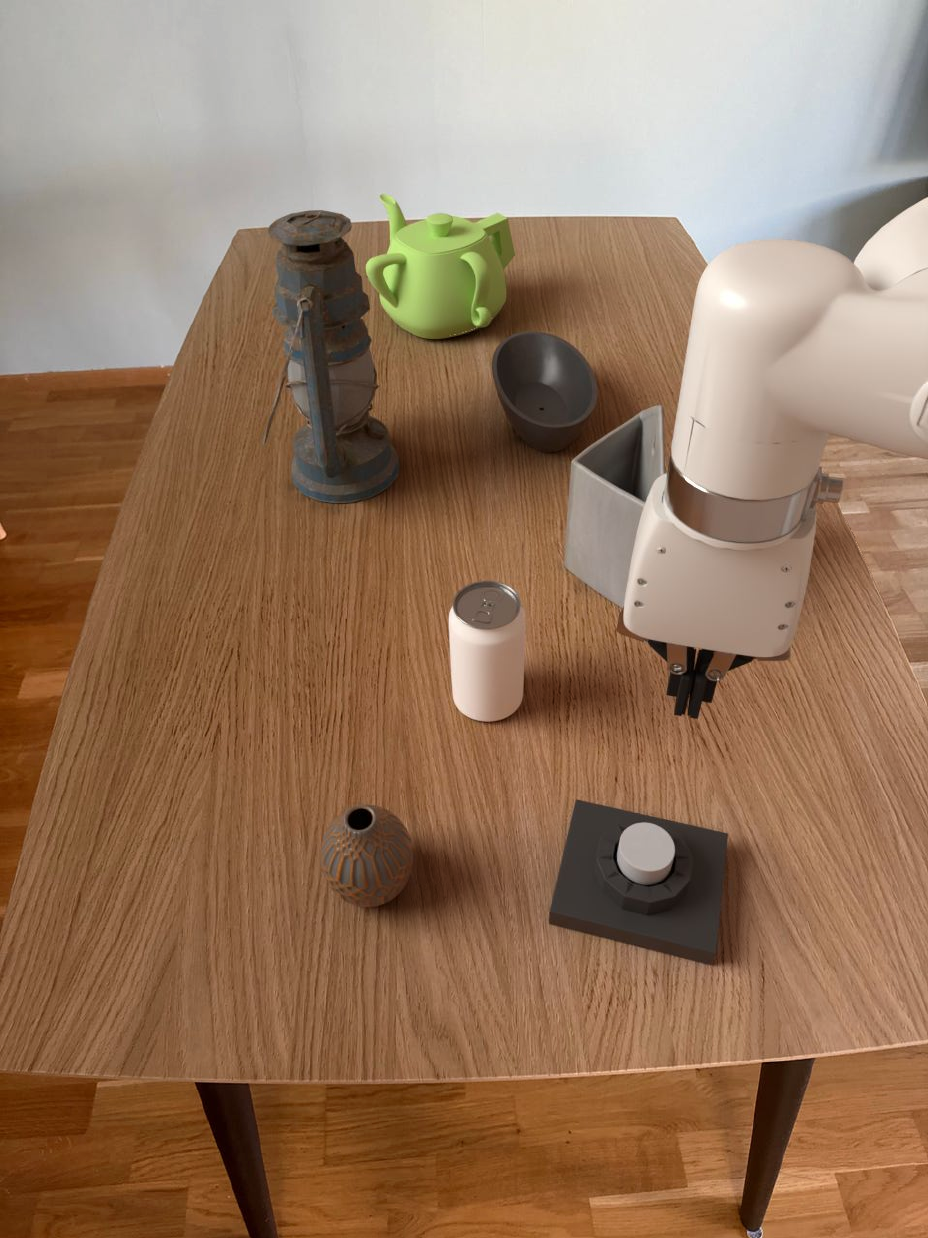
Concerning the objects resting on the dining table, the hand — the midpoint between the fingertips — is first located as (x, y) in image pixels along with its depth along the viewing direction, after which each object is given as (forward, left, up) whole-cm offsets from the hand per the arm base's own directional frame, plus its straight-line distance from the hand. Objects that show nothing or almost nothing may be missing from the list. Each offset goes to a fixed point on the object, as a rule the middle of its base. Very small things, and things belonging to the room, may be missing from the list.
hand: (687, 700), depth 62 cm
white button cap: (+1, +5, -13) cm, 14 cm away
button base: (+1, +5, -16) cm, 17 cm away
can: (+17, -10, -16) cm, 25 cm away
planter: (+10, -30, -16) cm, 35 cm away
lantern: (+43, -39, -16) cm, 60 cm away
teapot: (+43, -79, -16) cm, 91 cm away
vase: (+21, +10, -16) cm, 28 cm away
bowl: (+22, -55, -16) cm, 61 cm away
